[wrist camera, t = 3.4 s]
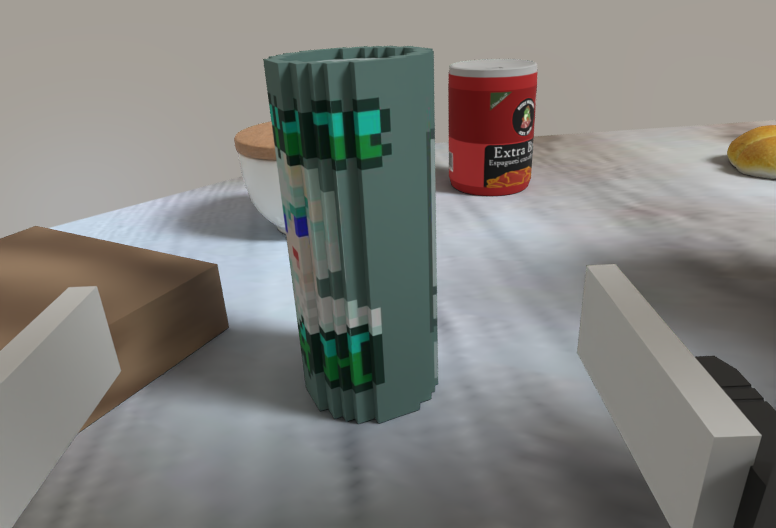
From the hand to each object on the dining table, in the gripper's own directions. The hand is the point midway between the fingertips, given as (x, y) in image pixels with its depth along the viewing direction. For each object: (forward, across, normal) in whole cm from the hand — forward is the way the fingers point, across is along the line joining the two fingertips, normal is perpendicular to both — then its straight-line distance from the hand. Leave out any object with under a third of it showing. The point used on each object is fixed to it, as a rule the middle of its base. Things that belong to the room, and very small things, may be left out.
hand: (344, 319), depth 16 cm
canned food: (+40, +11, -9) cm, 43 cm away
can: (+10, 0, -9) cm, 13 cm away
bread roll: (+41, +39, -9) cm, 57 cm away
